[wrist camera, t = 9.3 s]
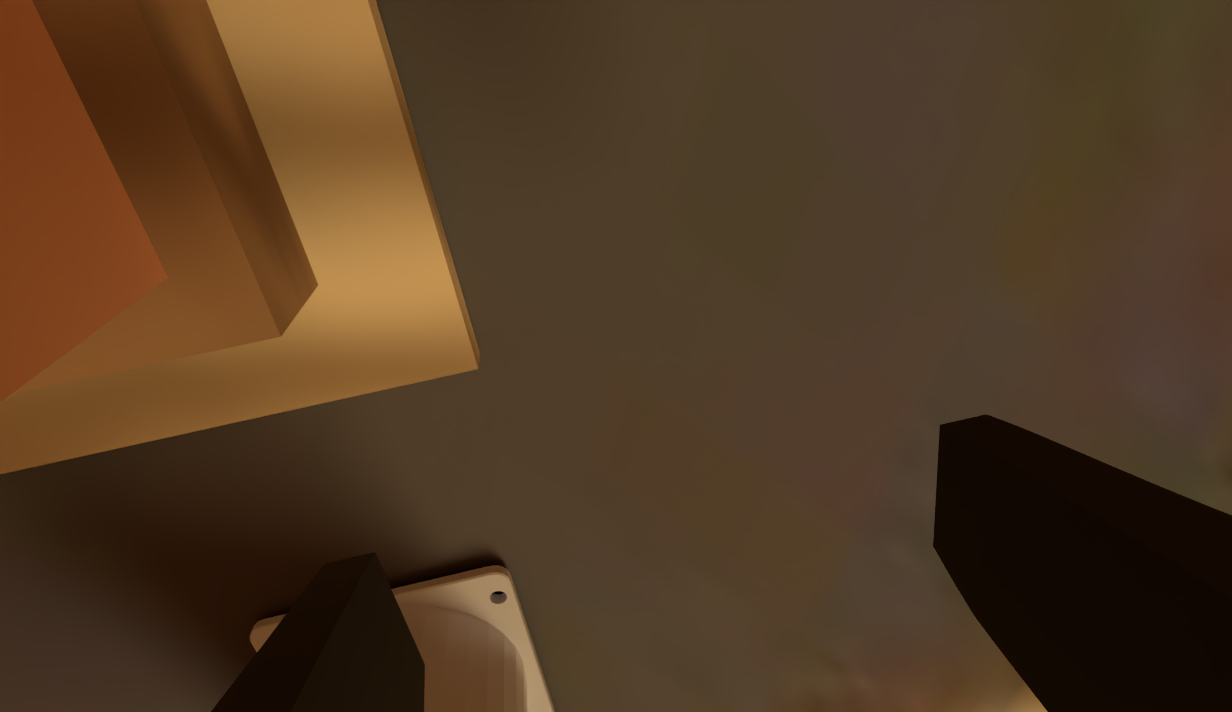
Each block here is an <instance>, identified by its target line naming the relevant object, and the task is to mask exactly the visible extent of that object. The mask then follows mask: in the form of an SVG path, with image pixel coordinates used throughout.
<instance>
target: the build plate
mask: <svg viewBox="0 0 1232 712" xmlns="http://www.w3.org/2000/svg"><path fill="white" fill-rule="evenodd" d="M206 1H207V3H208V6H209V9H210V11H211V14H212V16H213V19H214V21H215V24H216V26H217V29H218V31H219V34H220V36H221V39H222V42H223V44H224V47H225V49H226V52H227V54H228V57H229V59H230V62H231V64H232V67H233V69H234V72H235V75H236V77H237V80H238V82H239V85H240V87H241V90H242V92H243V95H244V97H245V100H246V102H247V105H248V108H249V110H250V113H251V115H252V118H253V120H254V123H255V125H256V128H257V130H258V133H259V136H260V138H261V141H262V143H263V146H264V148H265V151H266V153H267V156H268V158H269V161H270V163H271V166H272V169H273V171H274V174H275V176H276V179H277V181H278V184H279V186H280V189H281V191H282V194H283V196H284V199H285V202H286V204H287V207H288V209H289V212H290V214H291V217H292V219H293V222H294V224H295V227H296V229H297V232H298V235H299V237H300V240H301V242H302V245H303V247H304V250H305V252H306V255H307V257H308V260H309V262H310V265H311V268H312V270H313V273H314V275H315V278H316V280H317V283H318V286H317V288H316V289H315V291H314V292H313V293H312V295H311V296H310V297H309V299H308V300H307V302H306V303H305V304H304V306H303V307H302V308H301V310H300V311H299V313H298V314H297V315H296V317H295V318H294V320H293V321H292V322H291V324H290V325H289V326H288V328H287V329H286V331H285V332H284V333H283V335H282V336H281V337H277V338H273V339H268V340H263V341H259V342H254V343H249V344H245V345H240V346H236V347H231V348H226V349H222V350H217V351H212V352H208V353H203V354H198V355H194V356H189V357H184V358H180V359H175V360H170V361H166V362H161V363H157V364H152V365H147V366H143V367H138V368H133V369H129V370H124V371H119V372H115V373H110V374H105V375H101V376H96V377H91V378H87V379H82V380H78V381H73V382H68V383H64V384H59V385H54V386H50V387H45V388H40V389H36V390H31V391H26V392H22V393H17V394H12V395H10V396H8V397H7V398H5V399H4V400H3V401H1V402H0V474H4V473H9V472H13V471H18V470H22V469H27V468H31V467H36V466H40V465H45V464H49V463H54V462H59V461H63V460H68V459H72V458H77V457H81V456H86V455H90V454H95V453H99V452H104V451H108V450H113V449H117V448H122V447H126V446H131V445H136V444H140V443H145V442H149V441H154V440H158V439H163V438H167V437H172V436H176V435H181V434H185V433H190V432H194V431H199V430H204V429H208V428H213V427H217V426H222V425H226V424H231V423H235V422H240V421H244V420H249V419H253V418H258V417H262V416H267V415H272V414H276V413H281V412H285V411H290V410H294V409H299V408H303V407H308V406H312V405H317V404H321V403H326V402H330V401H335V400H339V399H344V398H349V397H353V396H358V395H362V394H367V393H371V392H376V391H380V390H385V389H389V388H394V387H398V386H403V385H407V384H412V383H417V382H421V381H426V380H430V379H435V378H439V377H444V376H448V375H453V374H457V373H462V372H466V371H471V370H475V369H478V367H479V354H480V352H479V348H478V345H477V342H476V338H475V335H474V331H473V328H472V325H471V321H470V318H469V314H468V311H467V308H466V304H465V301H464V297H463V294H462V291H461V287H460V284H459V281H458V277H457V274H456V270H455V267H454V264H453V260H452V257H451V253H450V250H449V247H448V243H447V240H446V236H445V233H444V230H443V226H442V223H441V220H440V216H439V213H438V209H437V206H436V203H435V199H434V196H433V192H432V189H431V186H430V182H429V179H428V176H427V172H426V169H425V165H424V162H423V159H422V155H421V152H420V148H419V145H418V142H417V138H416V135H415V131H414V128H413V125H412V121H411V118H410V115H409V111H408V108H407V104H406V101H405V98H404V94H403V91H402V87H401V84H400V81H399V77H398V74H397V70H396V67H395V64H394V60H393V57H392V54H391V50H390V47H389V43H388V40H387V37H386V33H385V30H384V26H383V23H382V20H381V16H380V13H379V9H378V6H377V3H376V0H206Z"/></svg>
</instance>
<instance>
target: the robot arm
mask: <svg viewBox="0 0 1232 712" xmlns="http://www.w3.org/2000/svg"><path fill="white" fill-rule="evenodd" d="M933 547H934V548H935V550H936V552H937V554H938V555H939V557H940V559H941V561H942V562H943V564H944V566H945V568H946V569H947V571H948V573H949V574H950V576H951V578H952V580H953V581H954V583H955V585H956V587H957V588H958V590H959V591H960V593H961V595H962V596H963V598H964V600H965V601H966V603H967V604H968V606H969V608H970V609H971V611H972V612H973V614H974V616H975V617H976V619H977V620H978V621H979V623H980V624H981V625H982V627H983V628H984V629H985V631H986V632H987V633H988V635H989V636H990V637H991V639H992V640H993V641H994V643H995V644H996V645H997V647H998V648H999V649H1000V650H1001V652H1002V653H1003V654H1004V656H1005V657H1006V658H1007V660H1008V661H1009V662H1010V663H1011V665H1012V666H1013V667H1014V669H1015V670H1016V671H1017V673H1018V674H1019V675H1020V677H1021V678H1022V679H1023V680H1024V682H1025V683H1026V684H1027V686H1028V687H1029V688H1030V689H1031V691H1032V692H1033V693H1034V694H1035V696H1036V697H1037V698H1038V700H1039V701H1040V702H1041V703H1042V705H1043V706H1044V707H1045V709H1046V710H1047V711H1048V712H1232V515H1229V514H1227V513H1224V512H1222V511H1219V510H1216V509H1214V508H1211V507H1209V506H1206V505H1204V504H1201V503H1199V502H1197V501H1194V500H1192V499H1189V498H1187V497H1184V496H1182V495H1179V494H1177V493H1175V492H1172V491H1170V490H1167V489H1165V488H1162V487H1160V486H1158V485H1155V484H1153V483H1150V482H1148V481H1146V480H1143V479H1141V478H1139V477H1136V476H1134V475H1132V474H1129V473H1127V472H1124V471H1122V470H1120V469H1117V468H1115V467H1113V466H1110V465H1108V464H1106V463H1103V462H1101V461H1099V460H1096V459H1094V458H1092V457H1089V456H1087V455H1085V454H1082V453H1080V452H1078V451H1075V450H1073V449H1071V448H1068V447H1066V446H1064V445H1061V444H1059V443H1057V442H1054V441H1052V440H1050V439H1047V438H1045V437H1042V436H1040V435H1038V434H1035V433H1033V432H1030V431H1028V430H1026V429H1023V428H1021V427H1018V426H1016V425H1013V424H1011V423H1008V422H1005V421H1003V420H1000V419H997V418H995V417H992V416H989V415H982V416H977V417H973V418H969V419H964V420H960V421H955V422H951V423H946V424H942V425H940V433H939V451H938V470H937V488H936V506H935V524H934V542H933ZM496 591H502V592H504V593H502V594H497V595H496V594H494V593H493V592H496ZM249 638H250V642H251V644H252V645H253V647H254V649H255V650H256V652H257V653H256V655H255V656H254V657H253V658H252V660H251V661H250V662H249V664H248V665H247V666H246V667H245V669H244V670H243V671H242V673H241V674H240V675H239V676H238V678H237V679H236V680H235V682H234V683H233V684H232V685H231V687H230V688H229V689H228V691H227V692H226V693H225V694H224V696H223V697H222V698H221V700H220V701H219V702H218V703H217V705H216V706H215V707H214V709H213V710H212V711H211V712H555V710H554V707H553V704H552V701H551V698H550V695H549V691H548V688H547V685H546V682H545V679H544V676H543V673H542V670H541V667H540V664H539V661H538V658H537V655H536V652H535V648H534V645H533V642H532V639H531V636H530V633H529V630H528V627H527V624H526V621H525V618H524V615H523V612H522V609H521V605H520V602H519V599H518V596H517V593H516V590H515V587H514V584H513V581H512V578H511V575H510V573H509V571H508V570H507V569H506V568H504V567H502V566H498V565H494V566H487V567H483V568H479V569H475V570H470V571H466V572H462V573H458V574H453V575H449V576H445V577H441V578H436V579H432V580H428V581H424V582H419V583H415V584H411V585H407V586H402V587H398V588H394V589H391V587H390V585H389V583H388V580H387V578H386V576H385V574H384V571H383V569H382V567H381V565H380V562H379V560H378V558H377V556H376V553H375V552H374V553H370V554H366V555H361V556H357V557H352V558H348V559H343V560H339V561H334V562H330V563H326V564H325V565H324V566H323V567H322V569H321V570H320V571H319V572H318V574H317V575H316V576H315V577H314V578H313V580H312V581H311V582H310V584H309V585H308V586H307V587H306V589H305V590H304V591H303V593H302V594H301V595H300V597H299V598H298V599H297V600H296V602H295V603H294V604H293V606H292V607H291V608H290V610H289V611H288V612H287V614H283V615H279V616H275V617H271V618H266V619H263V620H260V621H258V622H257V623H256V624H255V625H254V627H253V629H252V631H251V634H250V637H249Z"/></svg>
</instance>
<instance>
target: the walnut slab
mask: <svg viewBox="0 0 1232 712" xmlns="http://www.w3.org/2000/svg"><path fill="white" fill-rule="evenodd" d="M32 1H33V3H34V5H35V7H36V9H37V11H38V14H39V16H40V18H41V20H42V22H43V24H44V26H45V28H46V30H47V32H48V34H49V36H50V38H51V40H52V42H53V44H54V46H55V48H56V50H57V52H58V54H59V56H60V58H61V60H62V62H63V64H64V66H65V68H66V71H67V73H68V75H69V77H70V79H71V81H72V83H73V85H74V87H75V89H76V91H77V93H78V95H79V97H80V99H81V101H82V103H83V105H84V107H85V109H86V111H87V113H88V115H89V117H90V119H91V121H92V123H93V125H94V128H95V130H96V132H97V134H98V136H99V138H100V140H101V142H102V144H103V146H104V148H105V150H106V152H107V154H108V156H109V158H110V160H111V162H112V164H113V166H114V168H115V170H116V172H117V174H118V176H119V178H120V180H121V183H122V185H123V187H124V189H125V191H126V193H127V195H128V197H129V199H130V201H131V203H132V205H133V207H134V209H135V211H136V213H137V215H138V217H139V219H140V221H141V223H142V225H143V227H144V229H145V231H146V233H147V235H148V237H149V240H150V242H151V244H152V246H153V248H154V250H155V252H156V254H157V256H158V258H159V260H160V262H161V264H162V266H163V268H164V270H165V272H166V274H167V276H168V278H167V279H165V280H164V281H163V282H161V283H160V284H158V285H157V286H156V287H154V288H153V289H152V290H150V291H149V292H148V293H146V294H145V295H144V296H142V297H141V298H140V299H138V300H137V301H136V302H134V303H133V304H132V305H130V306H129V307H128V308H126V309H125V310H124V311H122V312H121V313H120V314H118V315H117V316H116V317H114V318H113V319H112V320H110V321H109V322H107V323H106V324H105V325H103V326H102V327H101V328H99V329H98V330H97V331H95V332H94V333H93V334H91V335H90V336H89V337H87V338H86V339H85V340H83V341H82V342H81V343H79V344H78V345H77V346H75V347H74V348H73V349H71V350H70V351H69V352H67V353H66V354H65V355H63V356H62V357H61V358H59V359H58V360H56V361H55V362H54V363H52V364H51V365H50V366H48V367H47V368H46V369H44V370H43V371H42V372H40V373H39V374H38V375H36V376H35V377H34V378H32V379H31V380H30V381H28V382H27V383H26V384H24V385H23V386H22V387H20V388H19V389H18V390H16V391H15V392H14V393H12V394H17V393H22V392H26V391H31V390H36V389H40V388H45V387H50V386H54V385H59V384H64V383H68V382H73V381H78V380H82V379H87V378H91V377H96V376H101V375H105V374H110V373H115V372H119V371H124V370H129V369H133V368H138V367H143V366H147V365H152V364H157V363H161V362H166V361H170V360H175V359H180V358H184V357H189V356H194V355H198V354H203V353H208V352H212V351H217V350H222V349H226V348H231V347H236V346H240V345H245V344H249V343H254V342H259V341H263V340H268V339H273V338H277V337H281V336H282V335H283V333H284V332H285V331H286V329H287V328H288V326H289V325H290V324H291V322H292V321H293V320H294V318H295V317H296V315H297V314H298V313H299V311H300V310H301V308H302V307H303V306H304V304H305V303H306V302H307V300H308V299H309V297H310V296H311V295H312V293H313V292H314V291H315V289H316V288H317V286H318V283H317V280H316V278H315V275H314V273H313V270H312V268H311V265H310V262H309V260H308V257H307V255H306V252H305V250H304V247H303V245H302V242H301V240H300V237H299V235H298V232H297V229H296V227H295V224H294V222H293V219H292V217H291V214H290V212H289V209H288V207H287V204H286V202H285V199H284V196H283V194H282V191H281V189H280V186H279V184H278V181H277V179H276V176H275V174H274V171H273V169H272V166H271V163H270V161H269V158H268V156H267V153H266V151H265V148H264V146H263V143H262V141H261V138H260V136H259V133H258V130H257V128H256V125H255V123H254V120H253V118H252V115H251V113H250V110H249V108H248V105H247V102H246V100H245V97H244V95H243V92H242V90H241V87H240V85H239V82H238V80H237V77H236V75H235V72H234V69H233V67H232V64H231V62H230V59H229V57H228V54H227V52H226V49H225V47H224V44H223V42H222V39H221V36H220V34H219V31H218V29H217V26H216V24H215V21H214V19H213V16H212V14H211V11H210V9H209V6H208V3H207V1H206V0H32ZM12 394H11V395H12Z"/></svg>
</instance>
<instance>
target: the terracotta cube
mask: <svg viewBox="0 0 1232 712" xmlns="http://www.w3.org/2000/svg"><path fill="white" fill-rule="evenodd" d="M167 278H168V276H167V274H166V272H165V270H164V268H163V266H162V264H161V262H160V260H159V258H158V256H157V254H156V252H155V250H154V248H153V246H152V244H151V242H150V240H149V237H148V235H147V233H146V231H145V229H144V227H143V225H142V223H141V221H140V219H139V217H138V215H137V213H136V211H135V209H134V207H133V205H132V203H131V201H130V199H129V197H128V195H127V193H126V191H125V189H124V187H123V185H122V183H121V180H120V178H119V176H118V174H117V172H116V170H115V168H114V166H113V164H112V162H111V160H110V158H109V156H108V154H107V152H106V150H105V148H104V146H103V144H102V142H101V140H100V138H99V136H98V134H97V132H96V130H95V128H94V125H93V123H92V121H91V119H90V117H89V115H88V113H87V111H86V109H85V107H84V105H83V103H82V101H81V99H80V97H79V95H78V93H77V91H76V89H75V87H74V85H73V83H72V81H71V79H70V77H69V75H68V73H67V71H66V68H65V66H64V64H63V62H62V60H61V58H60V56H59V54H58V52H57V50H56V48H55V46H54V44H53V42H52V40H51V38H50V36H49V34H48V32H47V30H46V28H45V26H44V24H43V22H42V20H41V18H40V16H39V14H38V11H37V9H36V7H35V5H34V3H33V1H32V0H0V402H1V401H3V400H4V399H5V398H7V397H8V396H10V395H11V394H12V393H14V392H15V391H16V390H18V389H19V388H20V387H22V386H23V385H24V384H26V383H27V382H28V381H30V380H31V379H32V378H34V377H35V376H36V375H38V374H39V373H40V372H42V371H43V370H44V369H46V368H47V367H48V366H50V365H51V364H52V363H54V362H55V361H56V360H58V359H59V358H61V357H62V356H63V355H65V354H66V353H67V352H69V351H70V350H71V349H73V348H74V347H75V346H77V345H78V344H79V343H81V342H82V341H83V340H85V339H86V338H87V337H89V336H90V335H91V334H93V333H94V332H95V331H97V330H98V329H99V328H101V327H102V326H103V325H105V324H106V323H107V322H109V321H110V320H112V319H113V318H114V317H116V316H117V315H118V314H120V313H121V312H122V311H124V310H125V309H126V308H128V307H129V306H130V305H132V304H133V303H134V302H136V301H137V300H138V299H140V298H141V297H142V296H144V295H145V294H146V293H148V292H149V291H150V290H152V289H153V288H154V287H156V286H157V285H158V284H160V283H161V282H163V281H164V280H165V279H167Z"/></svg>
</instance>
